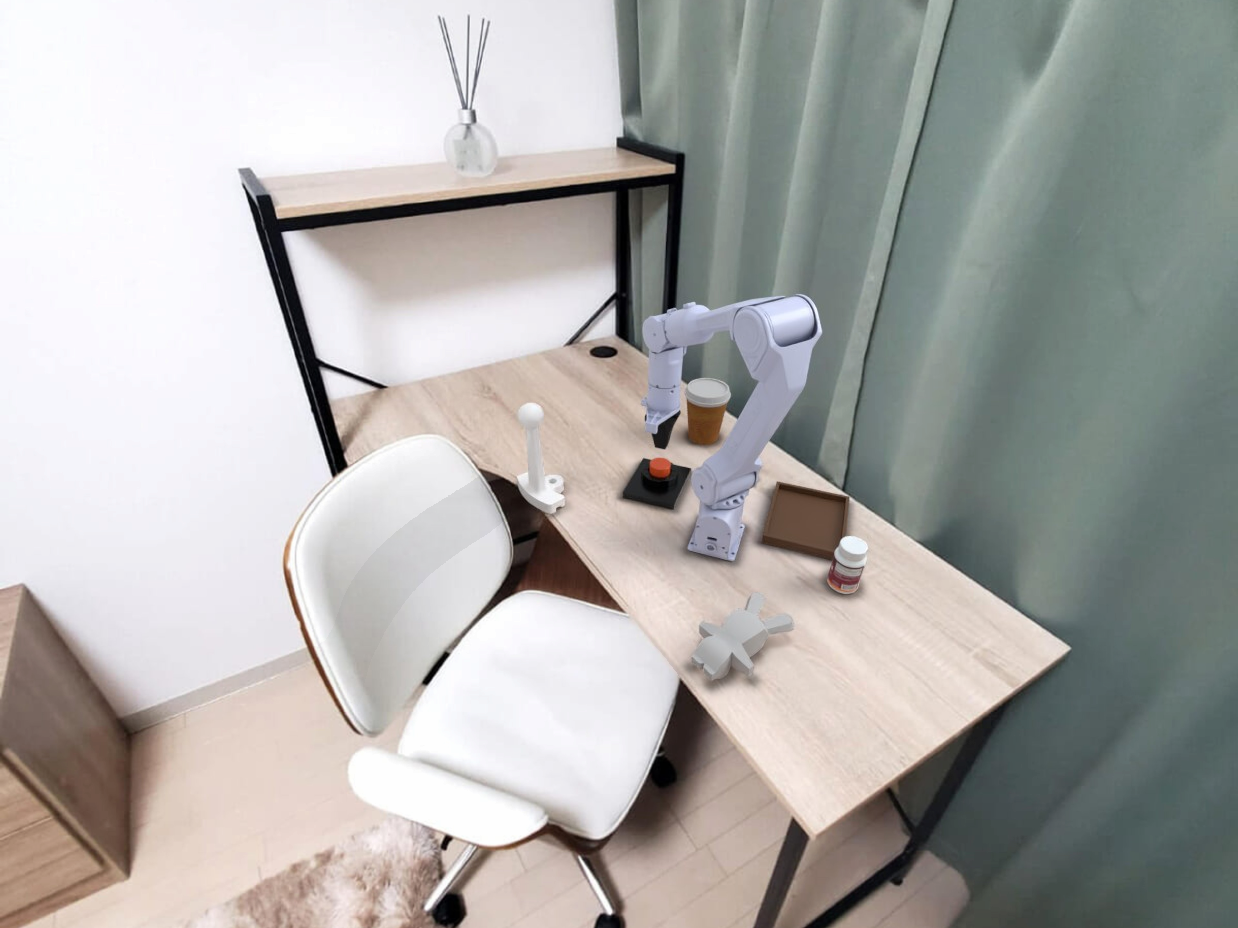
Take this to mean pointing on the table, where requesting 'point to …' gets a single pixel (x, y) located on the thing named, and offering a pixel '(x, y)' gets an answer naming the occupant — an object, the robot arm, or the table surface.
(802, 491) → the shallow brown tray
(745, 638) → the bunny figurine
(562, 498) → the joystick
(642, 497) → the switch block
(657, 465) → the power button
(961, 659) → the table surface
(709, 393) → the disposable coffee cup
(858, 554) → the pill bottle
